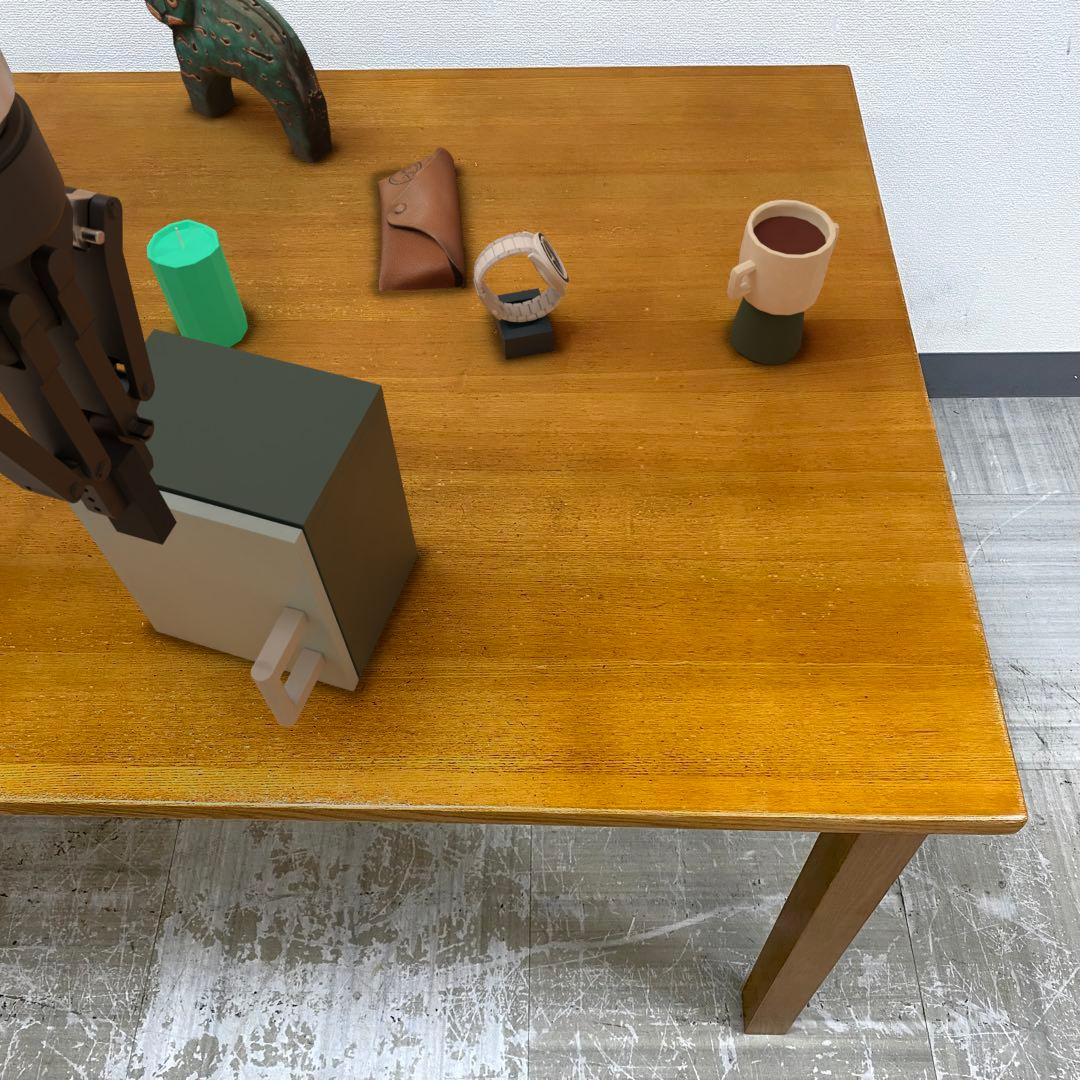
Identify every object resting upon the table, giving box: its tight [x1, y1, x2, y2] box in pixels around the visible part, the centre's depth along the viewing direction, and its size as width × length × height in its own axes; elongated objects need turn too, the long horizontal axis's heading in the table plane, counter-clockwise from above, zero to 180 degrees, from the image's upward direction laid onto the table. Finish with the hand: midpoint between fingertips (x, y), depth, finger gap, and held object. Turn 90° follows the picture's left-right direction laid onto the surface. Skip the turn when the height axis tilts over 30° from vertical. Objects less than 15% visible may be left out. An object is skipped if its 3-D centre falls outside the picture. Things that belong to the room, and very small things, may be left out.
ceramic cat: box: [144, 0, 333, 164], centre depth 102 cm, size 20×6×20 cm, turn 54°
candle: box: [146, 218, 249, 348], centre depth 88 cm, size 6×6×12 cm
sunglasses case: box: [376, 146, 467, 292], centre depth 99 cm, size 18×7×7 cm
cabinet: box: [123, 329, 419, 678], centre depth 69 cm, size 11×16×20 cm
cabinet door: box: [66, 490, 360, 728], centre depth 65 cm, size 6×16×20 cm, turn 72°
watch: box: [472, 230, 570, 360], centre depth 87 cm, size 6×8×11 cm
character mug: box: [726, 199, 840, 366], centre depth 86 cm, size 11×7×13 cm, turn 121°
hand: (146, 526), depth 53 cm, fingers closed
